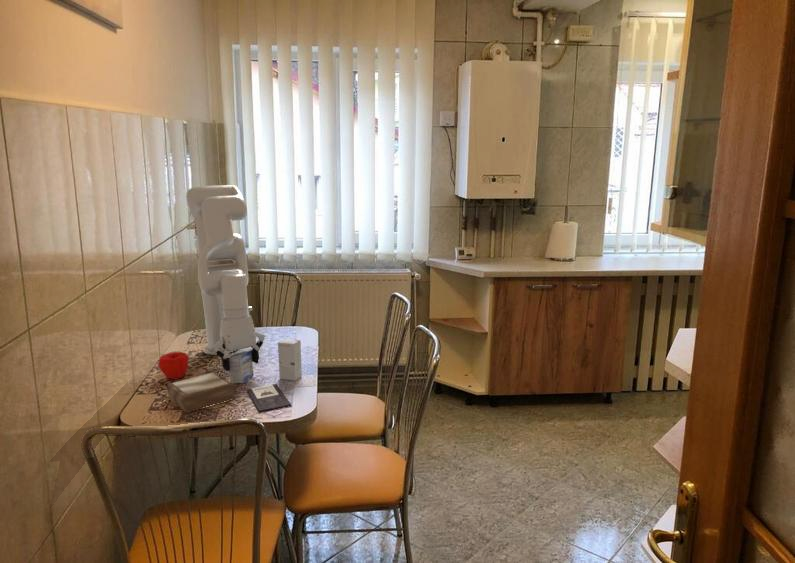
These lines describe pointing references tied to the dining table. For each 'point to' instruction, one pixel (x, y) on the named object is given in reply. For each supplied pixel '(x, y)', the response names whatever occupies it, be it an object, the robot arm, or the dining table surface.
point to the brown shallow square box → (200, 391)
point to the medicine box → (240, 366)
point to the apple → (174, 365)
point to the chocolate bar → (268, 398)
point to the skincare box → (289, 359)
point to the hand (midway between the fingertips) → (241, 366)
